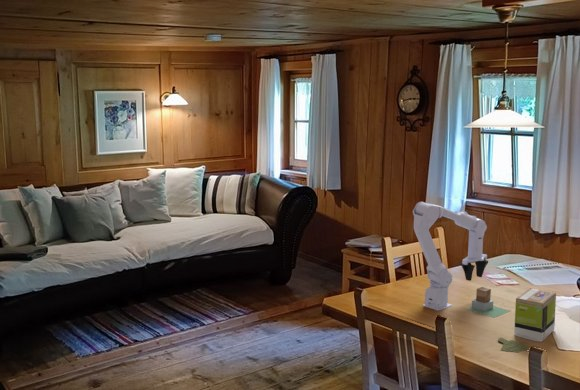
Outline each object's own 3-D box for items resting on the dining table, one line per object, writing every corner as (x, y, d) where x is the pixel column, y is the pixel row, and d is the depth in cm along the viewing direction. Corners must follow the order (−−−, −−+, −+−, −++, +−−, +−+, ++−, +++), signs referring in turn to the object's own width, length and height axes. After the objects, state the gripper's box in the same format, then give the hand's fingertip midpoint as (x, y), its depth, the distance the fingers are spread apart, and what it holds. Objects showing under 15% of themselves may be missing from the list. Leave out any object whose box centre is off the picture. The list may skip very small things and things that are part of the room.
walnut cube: (484, 303, 256) (485, 291, 255) (476, 300, 259) (476, 288, 258) (490, 301, 258) (490, 289, 258) (481, 298, 261) (482, 286, 261)
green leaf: (532, 363, 208) (532, 360, 208) (485, 345, 223) (486, 342, 222) (551, 355, 214) (551, 352, 214) (505, 338, 229) (505, 335, 229)
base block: (484, 311, 255) (485, 304, 255) (471, 307, 260) (472, 300, 259) (493, 308, 259) (493, 300, 258) (480, 304, 263) (480, 297, 263)
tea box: (527, 324, 242) (530, 287, 239) (554, 330, 236) (557, 292, 233) (513, 336, 230) (515, 296, 228) (541, 343, 224) (544, 302, 222)
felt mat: (494, 318, 248) (494, 317, 248) (465, 309, 258) (465, 309, 258) (510, 311, 256) (510, 310, 256) (482, 303, 265) (482, 302, 265)
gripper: (473, 251, 257) (471, 283, 259) (494, 245, 266) (492, 277, 268) (458, 248, 262) (457, 280, 264) (479, 242, 271) (477, 273, 273)
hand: (473, 278), depth 266 cm, fingers open, 7 cm apart
